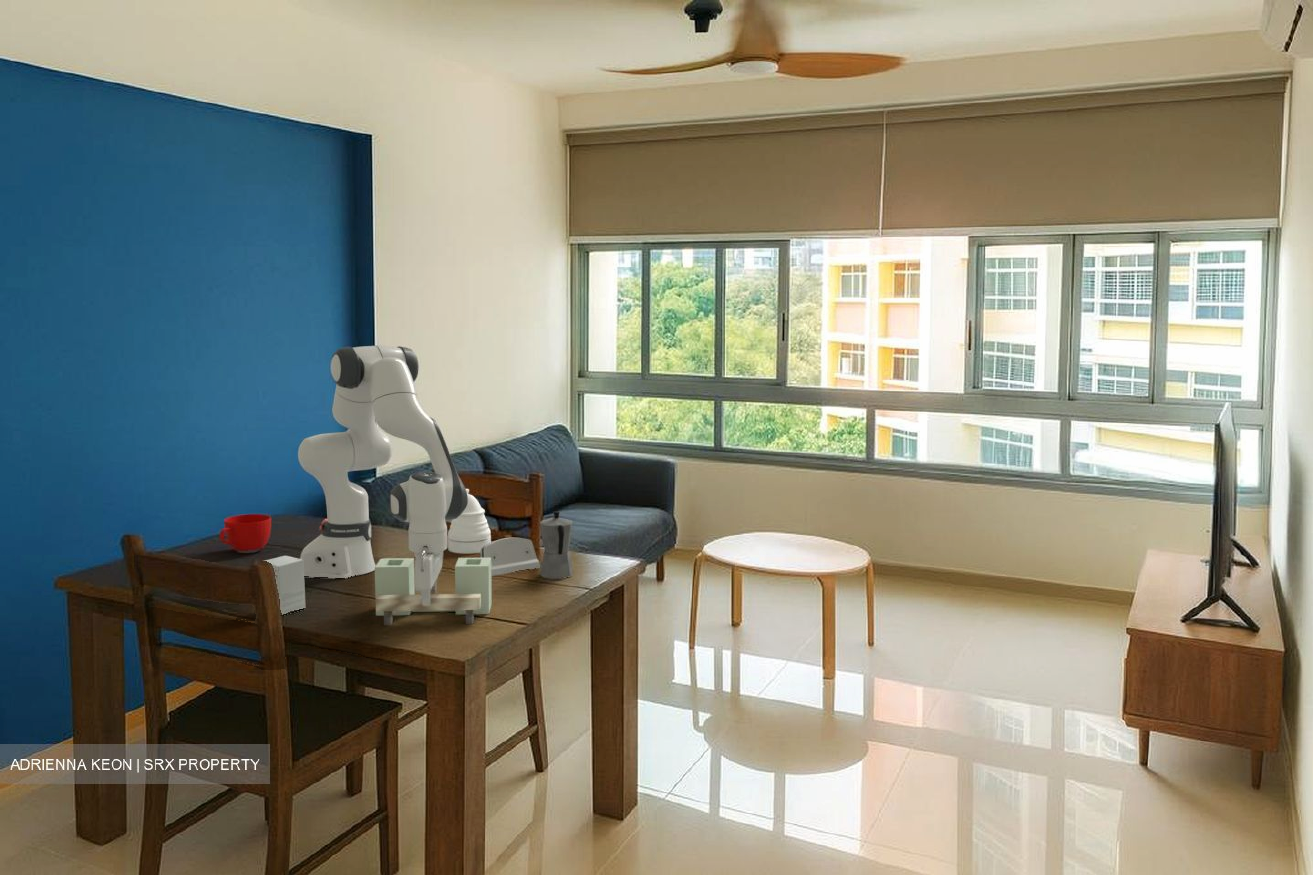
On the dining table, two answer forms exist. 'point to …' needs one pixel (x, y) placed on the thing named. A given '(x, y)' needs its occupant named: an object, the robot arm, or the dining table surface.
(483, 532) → the honey pot
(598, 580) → the dining table surface
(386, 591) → the posts
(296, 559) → the supplement box
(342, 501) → the robot arm
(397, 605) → the rail
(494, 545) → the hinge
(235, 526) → the ceramic cup
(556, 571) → the coffeepot
